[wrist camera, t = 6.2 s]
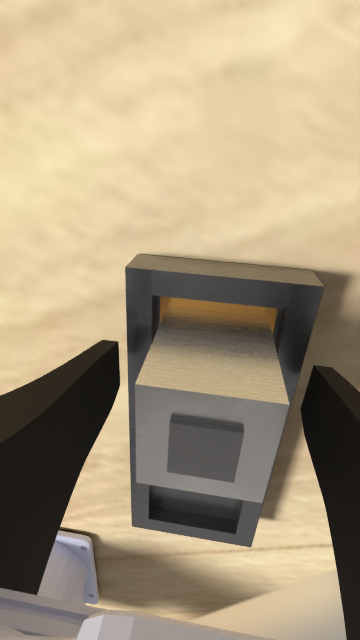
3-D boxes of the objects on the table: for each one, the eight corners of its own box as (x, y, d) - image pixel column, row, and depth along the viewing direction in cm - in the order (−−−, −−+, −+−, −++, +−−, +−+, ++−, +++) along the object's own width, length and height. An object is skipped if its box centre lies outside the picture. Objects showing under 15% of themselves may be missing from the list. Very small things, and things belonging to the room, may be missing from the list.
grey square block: (251, 396, 14) (262, 509, 10) (164, 384, 15) (134, 488, 10) (268, 317, 12) (290, 409, 8) (167, 306, 13) (132, 389, 8)
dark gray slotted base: (249, 516, 20) (250, 547, 18) (139, 497, 21) (132, 526, 19) (312, 270, 12) (324, 286, 11) (137, 253, 13) (125, 267, 12)
